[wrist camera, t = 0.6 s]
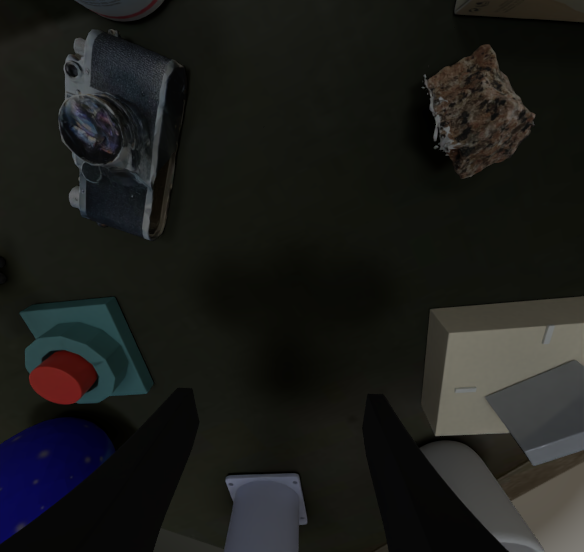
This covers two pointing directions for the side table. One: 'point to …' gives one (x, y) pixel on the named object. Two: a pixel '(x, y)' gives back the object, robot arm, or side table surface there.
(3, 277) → the character figure
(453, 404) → the panel
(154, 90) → the camera
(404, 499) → the robot arm
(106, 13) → the pill bottle
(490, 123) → the rock
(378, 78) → the side table surface
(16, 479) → the ornament
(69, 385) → the button
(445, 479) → the cup
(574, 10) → the box
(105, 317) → the button block
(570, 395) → the gray rectangular block
